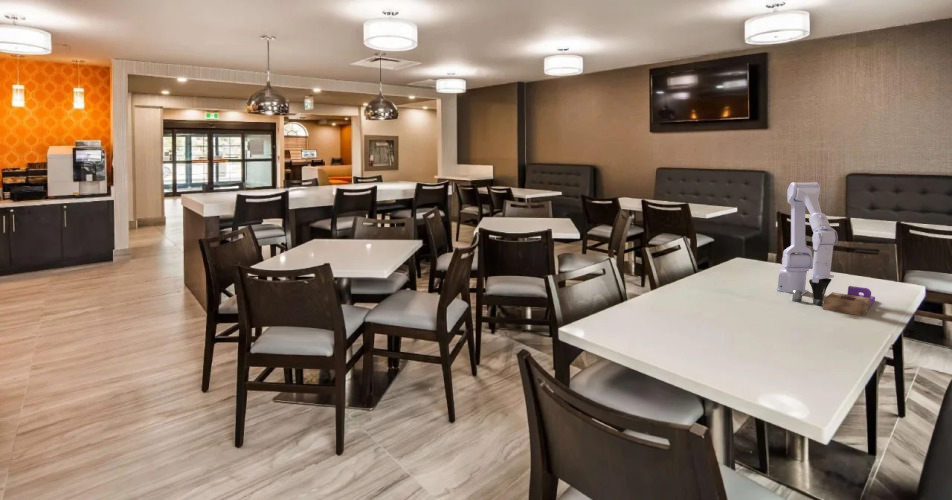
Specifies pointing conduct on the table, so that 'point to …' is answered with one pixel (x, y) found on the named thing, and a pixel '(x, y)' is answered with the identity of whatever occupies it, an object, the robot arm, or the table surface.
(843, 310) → the hole block
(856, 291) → the bracket
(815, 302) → the tall pin
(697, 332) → the table surface
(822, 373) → the table surface
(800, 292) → the short pin
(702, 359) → the table surface
